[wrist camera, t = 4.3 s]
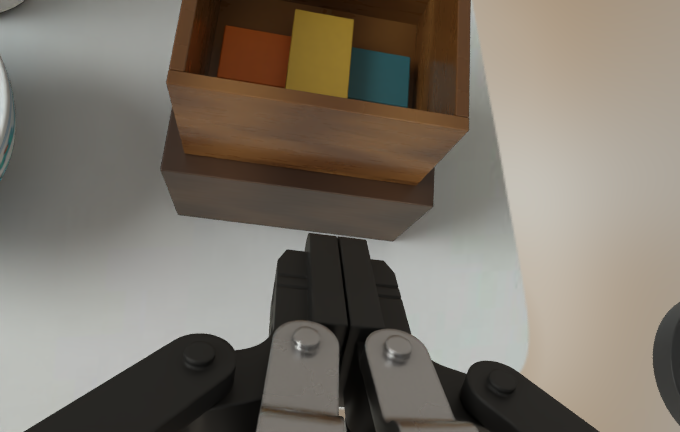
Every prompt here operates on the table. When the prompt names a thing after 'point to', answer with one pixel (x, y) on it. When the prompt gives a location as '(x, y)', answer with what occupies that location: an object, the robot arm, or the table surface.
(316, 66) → the yellow rectangular block
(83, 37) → the table surface
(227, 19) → the wooden box
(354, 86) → the teal packet
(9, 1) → the pill bottle
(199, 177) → the stand
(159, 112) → the table surface
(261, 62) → the orange packet
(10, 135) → the chinaware
